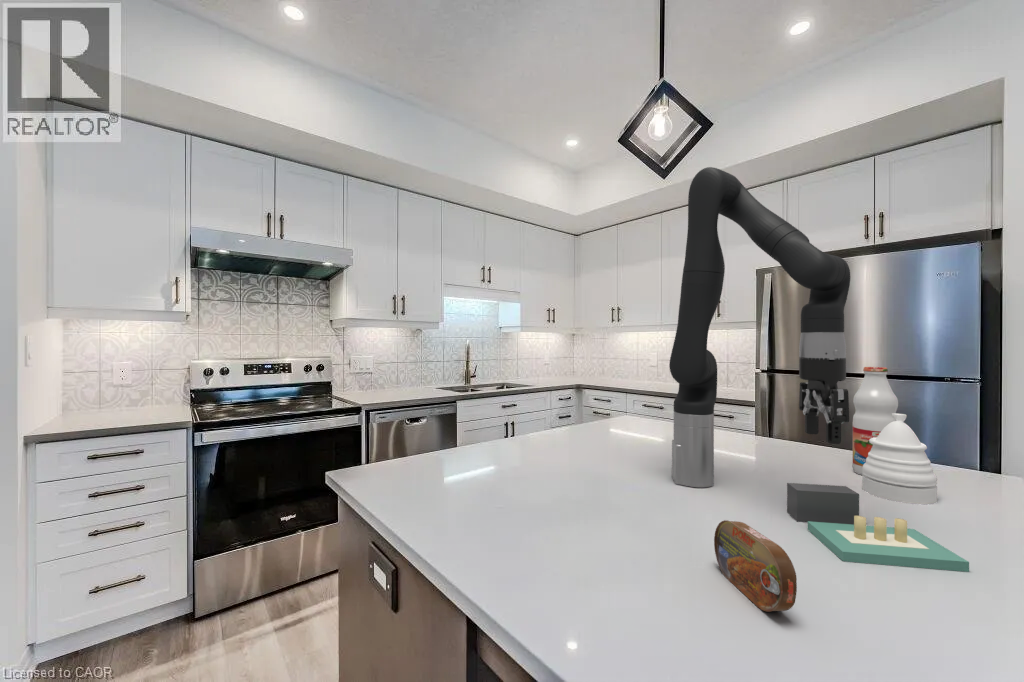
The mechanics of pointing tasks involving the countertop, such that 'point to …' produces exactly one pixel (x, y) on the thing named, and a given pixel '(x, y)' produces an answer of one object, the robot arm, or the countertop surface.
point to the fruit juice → (871, 412)
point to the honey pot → (899, 466)
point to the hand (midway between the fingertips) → (822, 438)
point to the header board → (885, 545)
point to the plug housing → (822, 503)
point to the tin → (755, 566)
